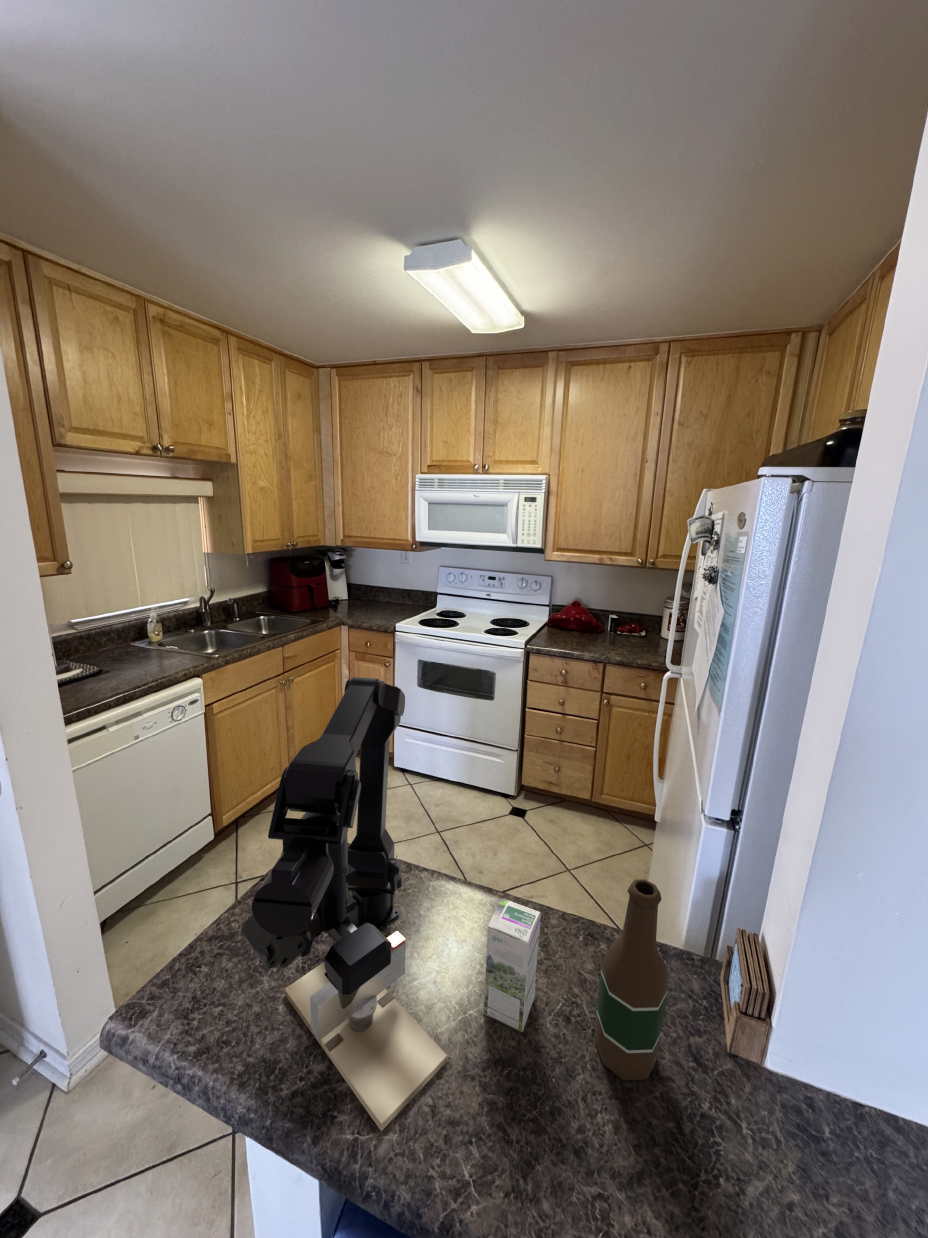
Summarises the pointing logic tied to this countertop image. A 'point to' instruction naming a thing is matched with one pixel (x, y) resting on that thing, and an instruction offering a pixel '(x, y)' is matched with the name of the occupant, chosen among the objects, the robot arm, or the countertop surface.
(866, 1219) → the countertop surface
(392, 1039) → the post board
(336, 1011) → the grey rectangular bar
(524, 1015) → the syrup box
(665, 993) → the beer bottle
